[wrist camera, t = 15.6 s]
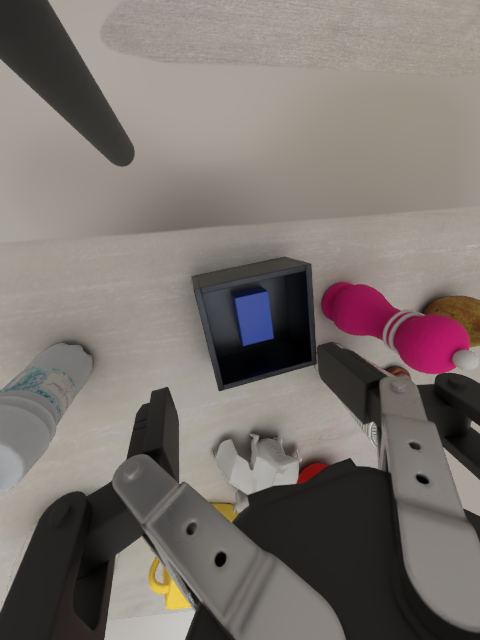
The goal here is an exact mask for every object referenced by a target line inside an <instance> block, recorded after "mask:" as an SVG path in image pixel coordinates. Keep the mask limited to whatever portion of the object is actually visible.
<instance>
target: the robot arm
mask: <svg viewBox="0 0 480 640" xmlns="http://www.w3.org/2000/svg"><path fill="white" fill-rule="evenodd" d="M317 356H318V372H319V375H320V377H321V379H322V380H323V382H324V383H325V384H326V385H327V386H328V387H329V388H330V389H331V390H332V391H333V392H334V393H335V395H336V396H337V397H338V398H339V399H340V400H341V401H342V402H343V403H344V404H345V405H346V406H347V407H348V408H349V410H350V411H351V412H352V413H353V414H354V415H355V416H356V417H357V418H358V419H359V420H360V421H361V422H362V424H363V425H365V424H368V423H371V422H374V423H375V424H376V440H377V455H378V469H376V468H371V467H362V466H356V465H355V464H354V462H353V461H352V460H351V458H349V459H346V460H343V461H341V462H338V463H335V464H332V465H329V466H327V467H325V468H324V469H322V470H321V471H320V472H318V473H317V474H316V475H314V476H313V477H312V478H310V479H309V480H308V481H306V482H305V483H301V484H289V485H276V486H271V487H269V488H266V489H263V490H260V491H258V492H255V493H252V494H249V495H247V498H248V502H249V506H247V507H246V508H245V509H243V510H242V511H241V512H240V513H239V514H238V515H237V517H236V518H235V519H234V520H233V521H232V522H230V521H229V520H228V519H227V518H226V517H225V516H224V515H222V514H221V513H220V512H219V511H218V510H217V509H216V508H215V507H213V506H212V505H211V504H210V503H209V502H208V501H207V500H206V499H204V498H203V497H202V496H201V495H200V494H199V493H198V492H197V491H195V490H194V489H193V488H192V487H191V486H190V485H189V484H187V483H186V482H182V483H181V484H179V420H178V415H177V411H176V408H175V405H174V402H173V399H172V396H171V393H170V391H169V388H168V387H165V388H162V389H158V390H154V391H152V393H151V399H150V403H147V404H143V405H142V406H141V408H140V409H139V411H138V412H137V414H136V418H135V424H134V427H133V432H132V436H131V441H130V445H129V450H128V455H127V459H126V461H125V462H123V463H122V464H121V465H120V466H119V468H118V469H117V470H116V472H115V474H114V476H113V479H112V481H111V482H110V483H108V484H107V485H105V486H104V487H102V488H101V489H99V490H97V491H96V492H94V493H92V494H91V495H89V496H87V497H86V496H85V495H84V494H83V493H82V492H78V491H76V492H71V493H68V494H66V495H64V496H62V497H61V498H59V499H58V500H56V501H55V502H54V503H53V504H52V505H51V506H49V507H48V509H47V510H46V511H45V512H44V513H43V515H42V516H41V518H40V519H39V521H38V523H37V526H36V528H35V530H34V533H33V535H32V538H31V540H30V542H29V545H28V547H27V550H26V552H25V554H24V557H23V559H22V561H21V564H20V566H19V569H18V571H17V573H16V576H15V578H14V581H13V583H12V585H11V588H10V590H9V592H8V595H7V597H6V600H5V602H4V604H3V607H2V609H1V612H0V640H104V637H105V630H106V623H107V616H108V608H109V601H110V594H111V587H112V580H113V572H114V565H115V558H116V555H117V554H118V553H119V552H121V551H122V550H123V549H125V548H126V547H127V546H129V545H130V544H131V543H133V542H134V541H135V540H137V539H138V538H140V537H142V538H143V539H144V541H145V542H146V543H147V545H148V546H149V547H150V549H151V550H152V552H153V553H154V554H155V556H156V557H157V558H158V560H159V561H160V562H161V564H162V565H163V566H164V568H165V569H166V571H167V572H168V573H169V575H170V576H171V578H172V579H173V581H174V582H175V584H176V586H177V587H178V589H179V590H180V591H181V593H182V594H183V596H184V597H185V599H186V600H187V601H188V603H189V604H190V605H191V607H192V608H193V610H194V611H195V615H194V618H193V620H192V623H191V625H190V628H189V631H188V633H187V636H186V639H185V640H480V516H478V515H476V514H474V513H472V512H470V511H468V510H465V509H463V508H462V504H461V501H460V498H459V495H458V492H457V489H456V486H455V483H454V480H453V477H452V474H451V471H450V467H449V464H448V462H447V458H446V455H445V452H444V449H443V447H444V448H445V449H446V450H447V451H448V452H449V453H451V454H452V455H453V456H454V457H455V458H456V459H457V460H458V461H459V462H461V463H462V464H463V465H464V466H465V467H466V468H467V469H468V470H469V471H471V472H472V473H473V474H474V475H475V476H476V477H477V478H478V479H479V480H480V434H479V433H478V432H477V431H475V430H474V429H473V428H471V427H470V425H471V422H472V421H474V422H475V423H476V424H478V425H479V426H480V383H478V382H476V381H474V380H472V379H471V378H468V377H466V376H463V375H460V374H455V373H442V374H439V375H437V376H436V378H435V383H434V384H428V385H415V384H414V383H413V382H412V381H410V380H408V379H406V378H402V377H397V376H387V375H386V374H384V373H383V372H381V371H380V370H379V369H377V368H376V367H374V366H373V365H372V364H370V363H369V362H367V361H366V360H365V359H363V358H361V356H359V355H358V354H356V353H355V352H354V351H351V350H348V349H345V348H342V349H341V348H340V347H339V346H338V345H336V344H335V343H333V342H329V343H326V344H322V345H319V346H318V347H317Z"/></svg>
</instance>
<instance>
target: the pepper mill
mask: <svg viewBox="0 0 480 640" xmlns="http://www.w3.org/2000/svg"><path fill="white" fill-rule="evenodd" d="M322 311H323V313H324V315H325V316H326V317H327V318H329V319H330V320H332V321H334V323H335V325H336V326H337V327H338V328H339V329H340V330H342V331H344V332H346V333H348V334H352V335H360V336H364V335H370V336H374V337H377V338H379V339H381V340H382V341H383V342H384V344H385V346H386V347H387V348H388V349H390V350H392V351H394V352H395V353H397V354H399V355H400V357H401V359H402V360H403V361H404V362H405V363H406V364H407V365H408V366H410V367H411V368H413V369H415V370H417V371H420V372H423V373H427V374H440V373H445V372H448V371H450V370H452V369H454V368H456V367H458V368H460V369H463V370H471V369H474V368H476V367H477V366H478V364H479V358H478V356H477V355H476V354H475V353H474V352H472V351H469V346H470V339H469V335H468V333H467V331H466V330H465V329H464V327H463V326H462V325H461V324H459V323H458V322H457V321H455V320H453V319H451V318H449V317H446V316H443V315H436V314H429V315H424V314H422V313H419V312H416V311H414V310H403V311H400V310H398V309H396V308H394V307H393V306H392V305H391V304H390V303H389V302H388V301H387V300H386V299H385V297H384V296H383V295H382V294H381V293H380V292H378V291H377V290H376V289H374V288H372V287H370V286H367V285H362V284H357V285H353V284H350V283H346V282H341V283H337V284H335V285H333V286H331V287H330V288H329V289H328V290H327V291H326V293H325V295H324V296H323V299H322Z"/></svg>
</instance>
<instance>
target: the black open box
mask: <svg viewBox="0 0 480 640" xmlns="http://www.w3.org/2000/svg"><path fill="white" fill-rule="evenodd" d="M191 277H192V282H193V288H194V292H195V296H196V300H197V305H198V309H199V313H200V317H201V321H202V325H203V329H204V333H205V337H206V341H207V345H208V349H209V353H210V357H211V361H212V365H213V369H214V373H215V378H216V382H217V386H218V390H219V391H222V390H225V389H229V388H233V387H236V386H240V385H243V384H247V383H250V382H254V381H258V380H261V379H265V378H268V377H272V376H276V375H279V374H283V373H286V372H290V371H293V370H297V369H301V368H304V367H308V366H311V365H315V364H317V358H316V340H315V322H314V305H313V287H312V269H311V264H310V263H306V262H302V261H299V260H295V259H291V258H287V257H281V258H276V259H272V260H267V261H262V262H257V263H252V264H248V265H243V266H238V267H233V268H229V269H224V270H219V271H214V272H209V273H205V274H200V275H195V276H191ZM260 286H261V287H263V288H264V289H266V290H267V291H268V296H269V304H270V312H271V320H272V328H273V336H274V338H273V339H269V340H265V341H261V342H257V343H253V344H250V345H246V346H243V345H242V343H241V341H240V339H239V336H238V331H237V325H236V320H235V314H234V309H233V303H232V298H231V293H233V292H237V291H242V290H247V289H251V288H256V287H260Z"/></svg>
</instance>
